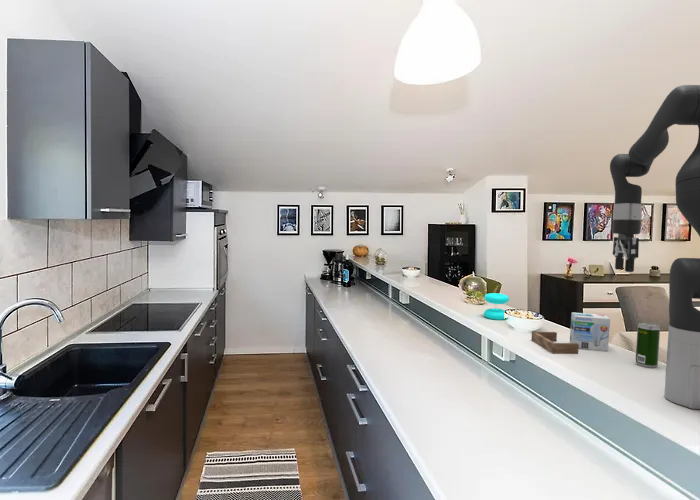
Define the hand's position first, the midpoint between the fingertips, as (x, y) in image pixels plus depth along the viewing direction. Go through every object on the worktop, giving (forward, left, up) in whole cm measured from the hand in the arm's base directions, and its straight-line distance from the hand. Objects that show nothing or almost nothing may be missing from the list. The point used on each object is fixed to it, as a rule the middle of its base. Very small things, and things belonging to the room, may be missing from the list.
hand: (623, 270), depth 139 cm
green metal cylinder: (-12, -1, -27) cm, 29 cm away
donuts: (+49, +22, -27) cm, 60 cm away
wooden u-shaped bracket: (+6, +18, -26) cm, 32 cm away
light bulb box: (+6, +6, -27) cm, 28 cm away
